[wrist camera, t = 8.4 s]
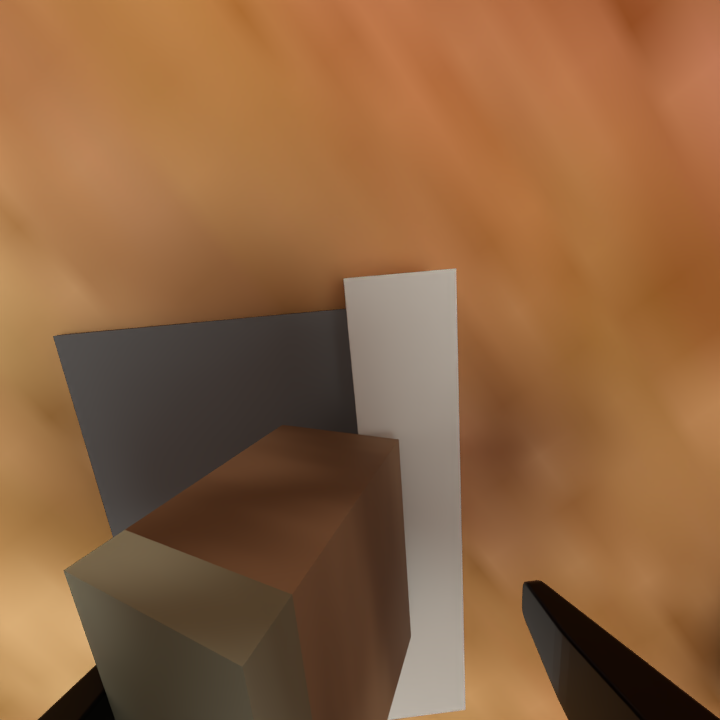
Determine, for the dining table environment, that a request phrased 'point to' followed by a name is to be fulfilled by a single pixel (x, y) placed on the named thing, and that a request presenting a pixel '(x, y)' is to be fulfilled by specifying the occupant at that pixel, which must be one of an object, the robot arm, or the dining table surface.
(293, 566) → the block
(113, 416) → the mat
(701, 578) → the dining table surface
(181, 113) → the dining table surface
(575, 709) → the robot arm
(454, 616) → the rail
